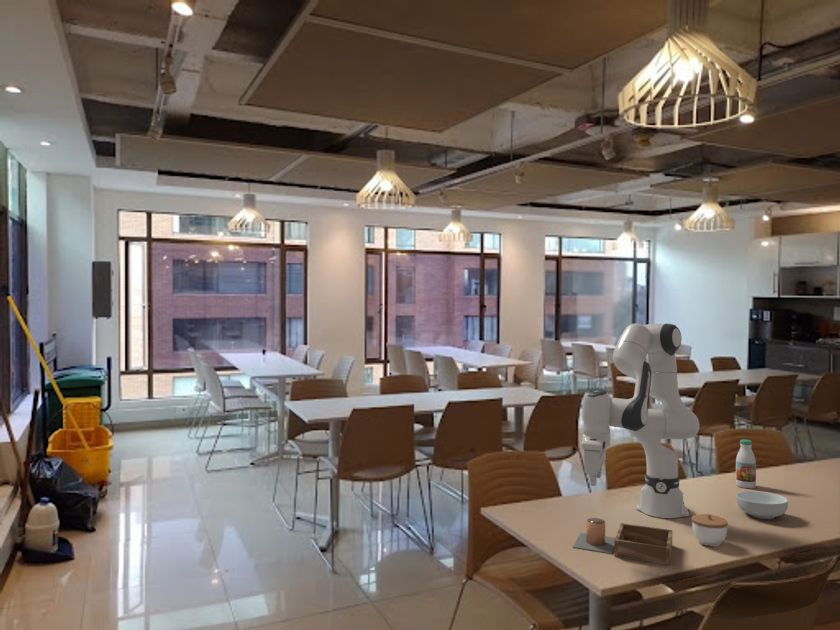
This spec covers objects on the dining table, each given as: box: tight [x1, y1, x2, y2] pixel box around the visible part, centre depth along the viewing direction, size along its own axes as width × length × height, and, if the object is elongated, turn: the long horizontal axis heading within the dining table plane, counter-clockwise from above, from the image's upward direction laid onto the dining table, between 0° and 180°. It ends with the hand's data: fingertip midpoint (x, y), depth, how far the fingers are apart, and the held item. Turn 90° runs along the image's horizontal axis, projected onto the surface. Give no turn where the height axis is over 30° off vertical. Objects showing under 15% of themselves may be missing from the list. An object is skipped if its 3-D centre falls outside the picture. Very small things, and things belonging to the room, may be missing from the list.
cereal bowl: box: [735, 490, 789, 520], centre depth 232 cm, size 17×17×7 cm
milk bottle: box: [735, 439, 757, 489], centre depth 271 cm, size 8×8×20 cm
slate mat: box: [572, 532, 615, 555], centre depth 204 cm, size 14×12×1 cm
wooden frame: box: [613, 522, 673, 566], centre depth 198 cm, size 17×16×5 cm
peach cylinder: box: [585, 517, 606, 546], centre depth 204 cm, size 6×6×7 cm
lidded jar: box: [691, 513, 729, 547], centre depth 205 cm, size 11×11×9 cm
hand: (595, 481), depth 204 cm, fingers open, 8 cm apart
